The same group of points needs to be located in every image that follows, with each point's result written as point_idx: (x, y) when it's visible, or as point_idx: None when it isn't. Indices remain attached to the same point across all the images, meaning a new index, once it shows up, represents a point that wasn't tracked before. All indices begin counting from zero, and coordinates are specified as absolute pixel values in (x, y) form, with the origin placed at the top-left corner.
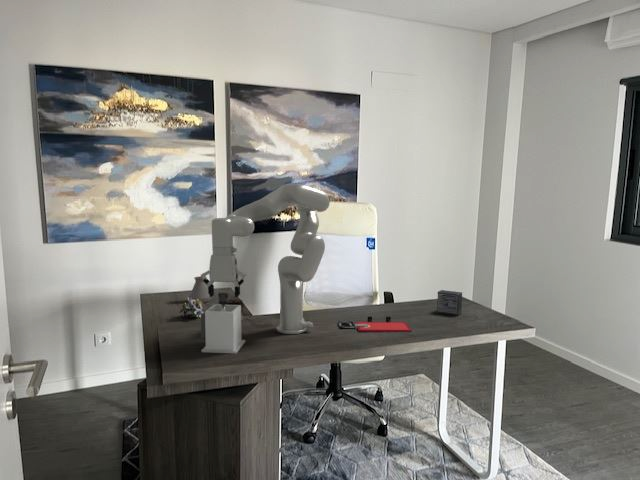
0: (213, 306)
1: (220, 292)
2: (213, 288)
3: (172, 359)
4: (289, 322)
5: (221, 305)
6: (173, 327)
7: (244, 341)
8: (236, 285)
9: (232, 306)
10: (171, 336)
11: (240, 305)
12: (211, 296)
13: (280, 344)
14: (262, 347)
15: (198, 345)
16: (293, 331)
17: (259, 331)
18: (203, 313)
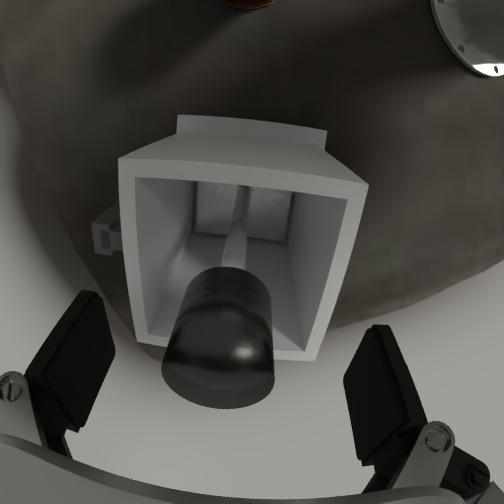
0: (135, 229)
1: (176, 363)
2: (70, 360)
3: (119, 297)
4: (500, 58)
5: (187, 179)
6: (20, 14)
7: (324, 143)
8: (382, 474)
9: (292, 189)
10: (30, 97)
11: (364, 195)
12: (114, 354)
13: (446, 172)
14: (391, 198)
15: None
16: (490, 73)
17: (366, 2)
18: (100, 234)
